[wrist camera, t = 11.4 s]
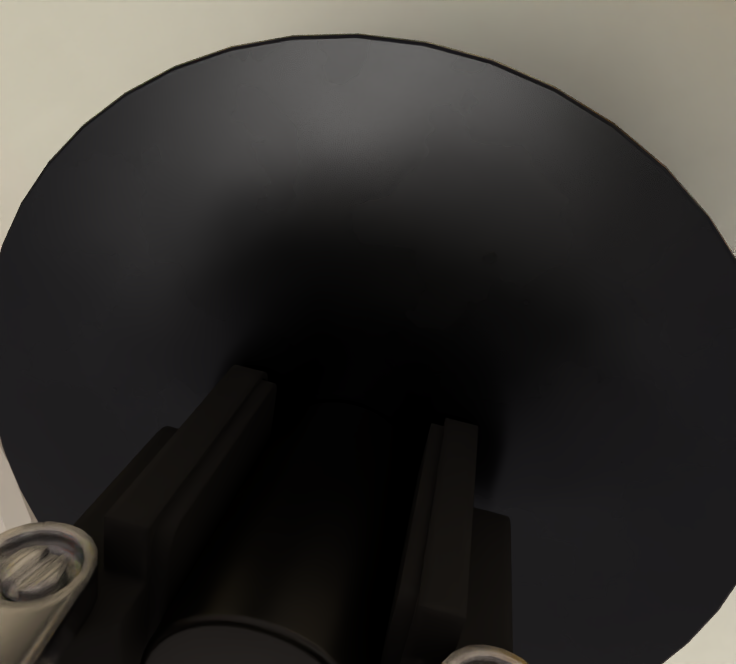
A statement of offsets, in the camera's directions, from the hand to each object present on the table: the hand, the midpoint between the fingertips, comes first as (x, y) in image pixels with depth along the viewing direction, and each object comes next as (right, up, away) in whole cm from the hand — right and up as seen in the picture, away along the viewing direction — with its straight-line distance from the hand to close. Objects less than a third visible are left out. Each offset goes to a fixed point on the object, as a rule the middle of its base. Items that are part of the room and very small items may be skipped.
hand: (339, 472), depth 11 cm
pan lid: (0, 0, +1) cm, 1 cm away
